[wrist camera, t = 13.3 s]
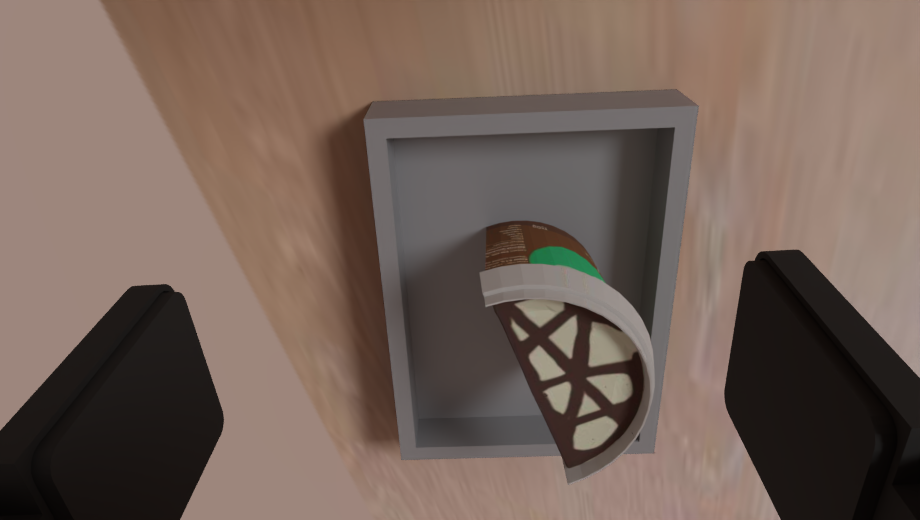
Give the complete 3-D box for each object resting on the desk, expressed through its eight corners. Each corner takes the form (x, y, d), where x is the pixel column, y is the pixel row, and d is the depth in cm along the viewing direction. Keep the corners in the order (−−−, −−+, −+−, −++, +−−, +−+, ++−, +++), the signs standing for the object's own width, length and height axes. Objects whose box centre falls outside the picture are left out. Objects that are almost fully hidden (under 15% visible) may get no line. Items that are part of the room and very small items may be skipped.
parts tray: (676, 89, 34) (698, 105, 31) (640, 415, 44) (653, 453, 41) (372, 101, 34) (363, 119, 31) (405, 422, 44) (401, 459, 41)
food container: (642, 339, 40) (693, 457, 31) (548, 370, 41) (571, 492, 32) (582, 164, 35) (622, 245, 26) (476, 204, 36) (480, 295, 27)
